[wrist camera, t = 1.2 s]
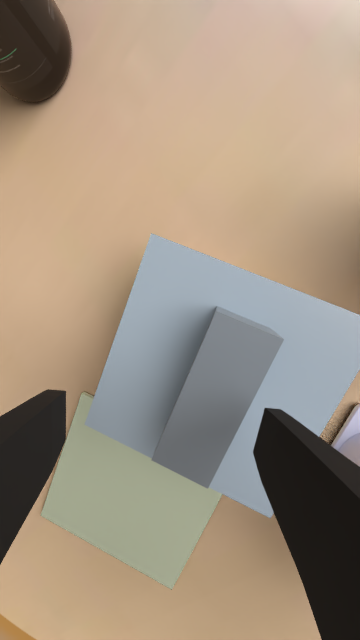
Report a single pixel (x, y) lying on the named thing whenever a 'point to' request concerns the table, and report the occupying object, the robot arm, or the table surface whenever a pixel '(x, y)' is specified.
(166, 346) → the lid
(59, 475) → the mat
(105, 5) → the table surface
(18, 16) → the supplement bottle
